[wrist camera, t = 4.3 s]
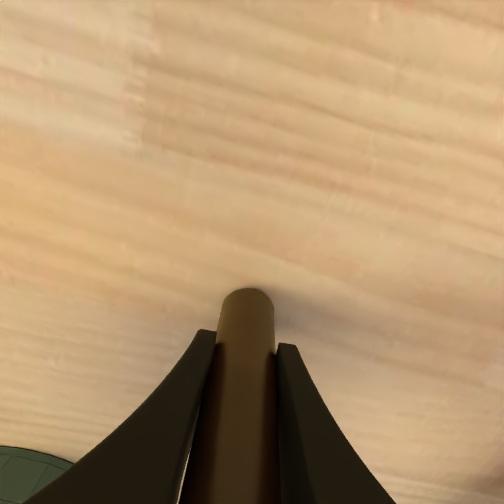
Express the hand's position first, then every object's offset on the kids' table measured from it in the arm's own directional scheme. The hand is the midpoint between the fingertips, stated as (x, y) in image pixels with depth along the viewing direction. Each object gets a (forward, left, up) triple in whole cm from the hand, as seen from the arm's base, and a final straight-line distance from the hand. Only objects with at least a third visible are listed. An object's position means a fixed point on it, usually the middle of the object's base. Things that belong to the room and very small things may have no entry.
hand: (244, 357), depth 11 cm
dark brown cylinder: (0, 0, -3) cm, 3 cm away
